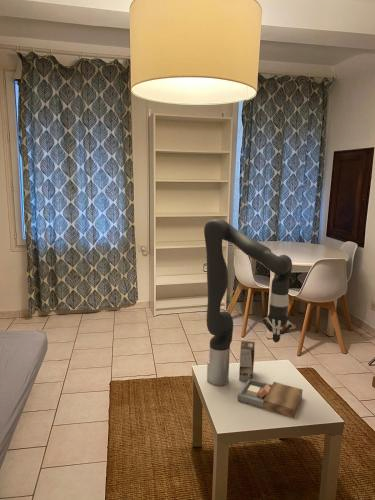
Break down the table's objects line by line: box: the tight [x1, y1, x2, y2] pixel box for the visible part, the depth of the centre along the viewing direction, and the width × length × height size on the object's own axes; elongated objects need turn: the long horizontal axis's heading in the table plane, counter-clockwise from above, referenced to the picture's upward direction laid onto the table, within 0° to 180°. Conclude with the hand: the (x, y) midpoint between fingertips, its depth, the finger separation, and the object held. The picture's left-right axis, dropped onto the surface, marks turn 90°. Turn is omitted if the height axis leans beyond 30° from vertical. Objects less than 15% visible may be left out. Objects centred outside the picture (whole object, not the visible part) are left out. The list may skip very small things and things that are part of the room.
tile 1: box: [247, 385, 260, 397], centre depth 168 cm, size 4×4×2 cm
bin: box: [237, 378, 273, 410], centre depth 167 cm, size 11×15×3 cm
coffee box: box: [238, 340, 256, 382], centre depth 182 cm, size 9×6×16 cm
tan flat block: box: [262, 381, 303, 419], centre depth 162 cm, size 12×16×4 cm
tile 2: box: [258, 383, 271, 398], centre depth 165 cm, size 4×4×2 cm
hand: (276, 341), depth 164 cm, fingers closed
